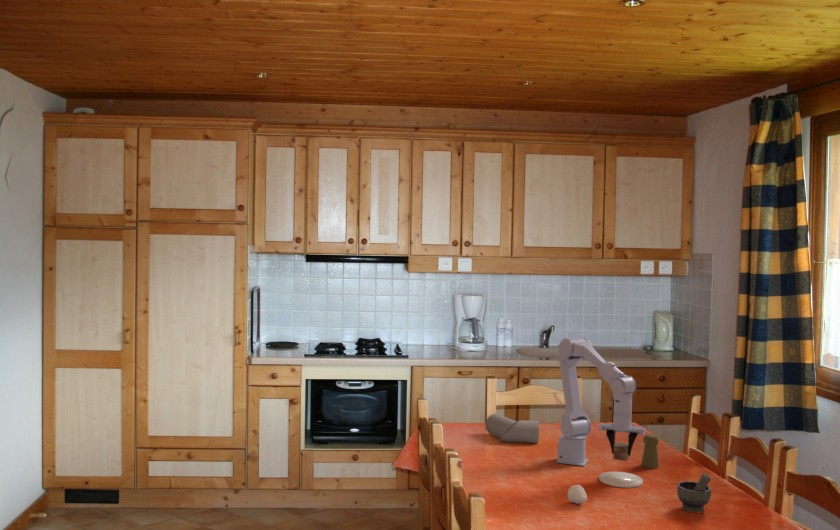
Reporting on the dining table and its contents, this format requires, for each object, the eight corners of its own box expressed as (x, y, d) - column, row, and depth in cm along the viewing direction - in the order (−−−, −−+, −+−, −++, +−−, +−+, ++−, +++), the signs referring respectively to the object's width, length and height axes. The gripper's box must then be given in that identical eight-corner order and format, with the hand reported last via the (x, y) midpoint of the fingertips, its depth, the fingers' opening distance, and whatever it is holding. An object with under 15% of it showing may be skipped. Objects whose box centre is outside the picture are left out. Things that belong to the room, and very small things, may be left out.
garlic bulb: (577, 509, 228) (578, 490, 228) (565, 502, 234) (566, 484, 234) (592, 507, 231) (593, 488, 230) (580, 500, 236) (581, 482, 236)
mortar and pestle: (669, 505, 234) (670, 465, 233) (695, 502, 237) (696, 463, 236) (693, 518, 223) (695, 477, 223) (720, 515, 226) (722, 474, 226)
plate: (595, 483, 252) (595, 480, 252) (602, 471, 265) (602, 468, 265) (639, 490, 247) (640, 486, 247) (645, 477, 260) (645, 474, 260)
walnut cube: (613, 459, 256) (613, 445, 256) (615, 455, 261) (615, 442, 260) (627, 461, 255) (627, 447, 255) (629, 457, 259) (629, 444, 259)
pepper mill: (659, 469, 270) (661, 437, 269) (641, 467, 271) (643, 436, 271) (658, 464, 276) (659, 433, 275) (640, 462, 277) (641, 432, 277)
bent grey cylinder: (486, 441, 296) (539, 443, 295) (486, 413, 298) (539, 415, 297) (484, 439, 313) (534, 441, 312) (485, 413, 315) (535, 415, 314)
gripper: (598, 413, 256) (597, 454, 256) (644, 418, 250) (642, 459, 251) (601, 408, 262) (600, 448, 263) (646, 413, 257) (644, 454, 257)
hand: (621, 453), depth 257 cm, fingers closed on walnut cube, 4 cm apart
